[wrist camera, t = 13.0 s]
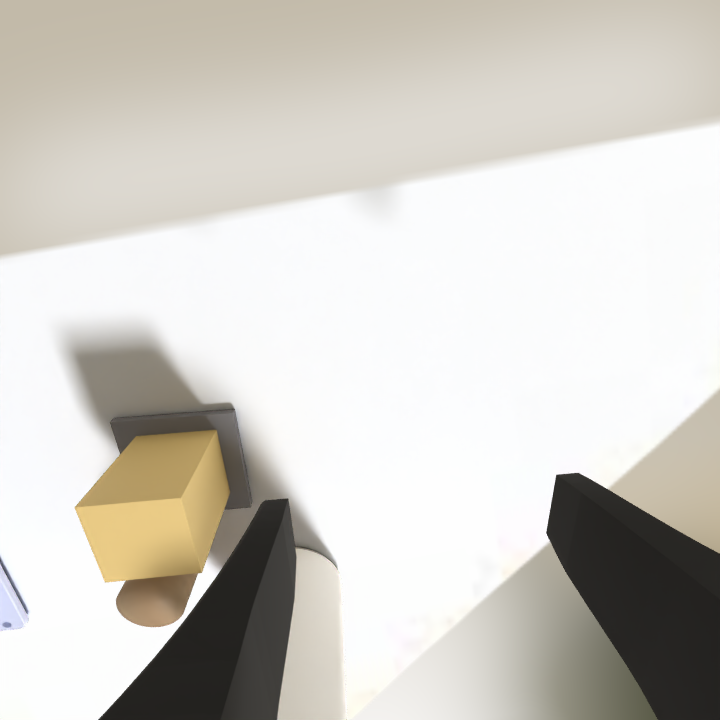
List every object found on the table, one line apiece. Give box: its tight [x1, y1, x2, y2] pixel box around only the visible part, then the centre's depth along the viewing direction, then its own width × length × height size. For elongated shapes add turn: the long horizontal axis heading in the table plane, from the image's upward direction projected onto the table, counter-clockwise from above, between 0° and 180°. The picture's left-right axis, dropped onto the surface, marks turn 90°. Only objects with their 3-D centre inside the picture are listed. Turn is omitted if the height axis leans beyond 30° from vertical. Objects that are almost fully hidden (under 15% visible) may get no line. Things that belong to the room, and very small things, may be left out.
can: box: [277, 547, 347, 720], centre depth 19 cm, size 6×6×12 cm
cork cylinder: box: [116, 573, 198, 627], centre depth 21 cm, size 3×3×4 cm
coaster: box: [110, 409, 252, 510], centre depth 20 cm, size 6×6×1 cm
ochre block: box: [75, 430, 230, 582], centre depth 18 cm, size 4×4×5 cm
